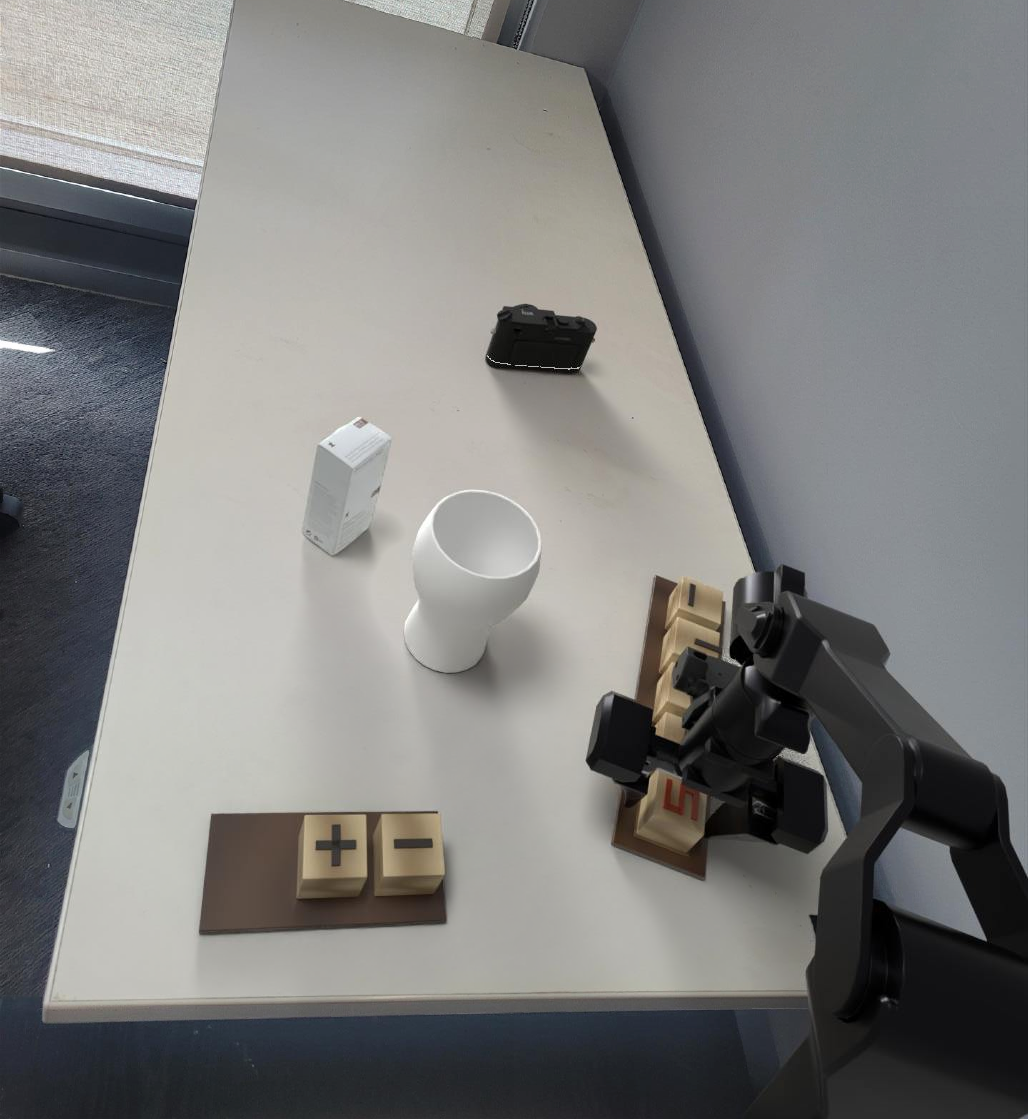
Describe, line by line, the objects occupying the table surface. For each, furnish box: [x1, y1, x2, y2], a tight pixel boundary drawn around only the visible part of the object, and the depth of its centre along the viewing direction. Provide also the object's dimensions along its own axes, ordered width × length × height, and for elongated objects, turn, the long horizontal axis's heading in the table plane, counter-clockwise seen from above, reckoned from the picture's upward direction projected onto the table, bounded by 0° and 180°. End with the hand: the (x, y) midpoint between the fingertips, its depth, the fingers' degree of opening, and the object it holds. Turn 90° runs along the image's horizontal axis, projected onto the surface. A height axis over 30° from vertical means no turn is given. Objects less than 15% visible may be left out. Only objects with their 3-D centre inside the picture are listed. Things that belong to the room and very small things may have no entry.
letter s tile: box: [637, 770, 707, 853], centre depth 75 cm, size 4×4×4 cm
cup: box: [403, 489, 543, 674], centre depth 79 cm, size 11×11×15 cm
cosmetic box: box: [301, 416, 393, 556], centre depth 85 cm, size 6×4×12 cm
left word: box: [198, 810, 447, 935], centre depth 65 cm, size 17×8×4 cm, turn 97°
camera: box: [484, 303, 598, 375], centre depth 117 cm, size 14×7×8 cm, turn 103°
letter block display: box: [610, 574, 727, 881], centre depth 84 cm, size 30×8×4 cm, turn 165°
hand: (666, 817), depth 76 cm, fingers open, 7 cm apart
